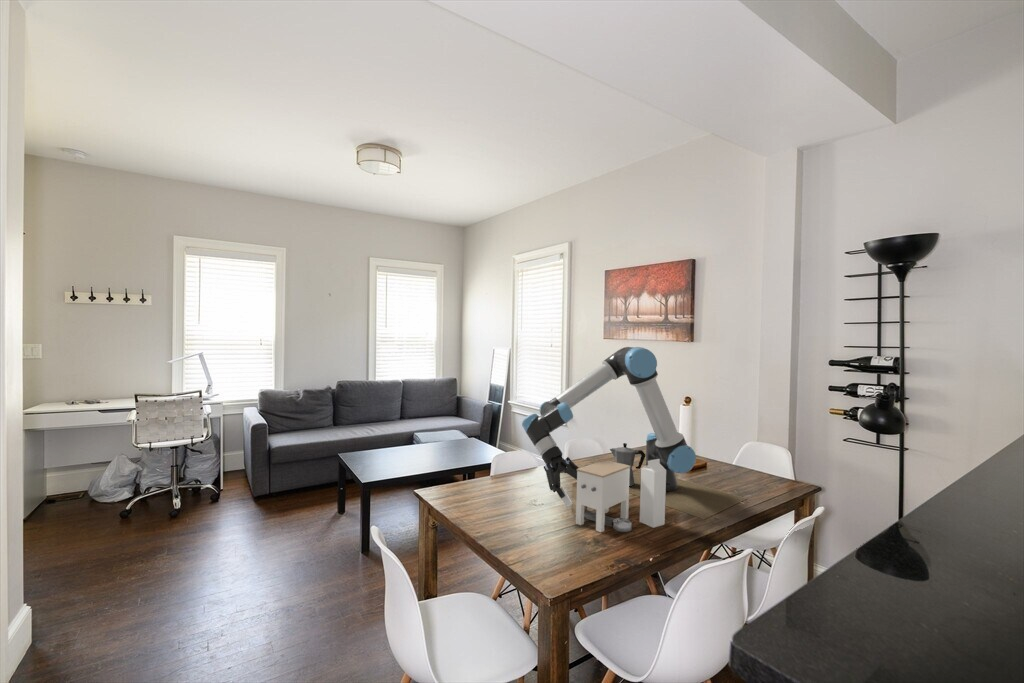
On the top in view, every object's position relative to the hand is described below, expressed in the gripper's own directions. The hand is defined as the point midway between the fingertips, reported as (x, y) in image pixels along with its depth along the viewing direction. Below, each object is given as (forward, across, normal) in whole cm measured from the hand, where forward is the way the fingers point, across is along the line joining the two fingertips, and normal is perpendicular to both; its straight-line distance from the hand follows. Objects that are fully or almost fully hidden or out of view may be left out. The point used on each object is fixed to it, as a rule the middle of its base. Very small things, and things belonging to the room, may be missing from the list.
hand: (581, 500), depth 163 cm
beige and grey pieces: (+7, 0, 0) cm, 7 cm away
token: (+15, 0, +8) cm, 17 cm away
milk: (+19, -12, +12) cm, 25 cm away
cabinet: (+9, -1, +2) cm, 10 cm away
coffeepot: (-1, -45, -8) cm, 46 cm away
